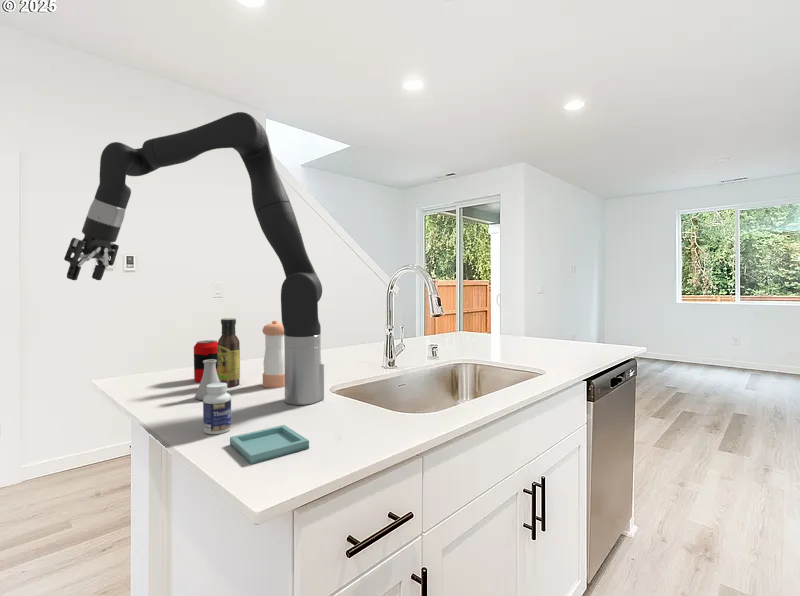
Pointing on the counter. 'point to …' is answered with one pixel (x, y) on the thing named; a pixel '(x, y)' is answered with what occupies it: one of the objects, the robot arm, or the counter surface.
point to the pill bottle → (217, 409)
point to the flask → (207, 378)
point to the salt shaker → (274, 355)
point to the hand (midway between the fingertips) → (84, 279)
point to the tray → (268, 443)
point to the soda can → (203, 356)
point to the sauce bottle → (228, 354)
